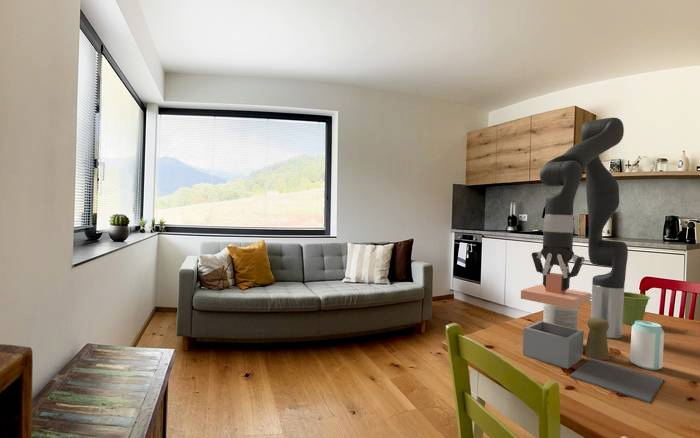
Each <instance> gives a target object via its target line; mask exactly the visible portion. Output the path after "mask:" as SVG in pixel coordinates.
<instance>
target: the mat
mask: <svg viewBox="0 0 700 438" xmlns="http://www.w3.org/2000/svg"><path fill="white" fill-rule="evenodd" d="M569 378H571V379H575V380H578V381H580V382H581V381H582V382H584V383H587V384H591V385H593V386H597V387H599V388H602V389H605V390H609V391H611V392H614V393H618V394H621V395H624V396H625V397H626V396H627V397H630V398H632V399H636V400H639V401H641V402H645V403H647V404H651V402H652V400H653V399H654V397H655V395H656V394H657V393H658V390H659V389H660V387H661V386H662V384H663V382H664V381H665V380H664V379H665V378H662V377H659V376H656V375H652V374H649V373H645V372H642V371H639V370H634V369H632V368H631V369H630V368H627V367H624V366H620V365H617V364H614V363H610V362H606V361H602V360H601V359H596V358H592V357H590V358H589V360H587V361H586V362H584V363H583V364H582V365H581V366H579V367H578V368H577V369H575V371H573V372H572V373H571V374H569Z"/></svg>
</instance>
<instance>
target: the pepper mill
mask: <svg viewBox="0 0 700 438" xmlns="http://www.w3.org/2000/svg"><path fill="white" fill-rule="evenodd" d="M587 326H588V328H589V330H588V335H587V340H586V345H585V350H584V355H586V356H587V357H589V358H593V359H596V360H600V361H602V360H604V361H605V360H610V355H609V346H608V345H609V344H608V338H607V334H606V331H607V330H608V328H609V324H608V322H607V321H606V320H603V319H600V318H591V317H590V318H589V319H588V321H587Z"/></svg>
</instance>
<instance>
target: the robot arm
mask: <svg viewBox="0 0 700 438" xmlns="http://www.w3.org/2000/svg"><path fill="white" fill-rule="evenodd" d="M624 133H625V127H624V124H623V121H622V120H621V119H620V118H618V117H606V118H600V119H599V118H598V119H592V120H588V121H585V122H584V123H583V124H582V125H581V129H580V142H578V143H576V144H574V145H572V146H571V147H570V148H569V149H568V150H566V151H565V152H564V154H561V155H559V156H557V157H554V158H552V159H551V160H549V161H547V162H545V164H544V165H543V166H542V167H541V169H540V171H539V179H540V182H541V183H542V184H543V185H545V186H548V187H562V188H561V190H560V191H559V192H557V193H554V194H553V193H552V194H550V195H547V197H546V198H545V209H544V210H545V211H544V212H545V213H544V214H545V215H544V220H543V226H542V230H543V232H542V233H543V234H542V235H543V237H542V249H541V250H540V251H535V252H532V253H531V257H532V261H533V265H534V267H535V270H536V272H537V273H540V274H542V285H543V286H545V288H546V274H549V273H551V271H552V268H553V267H554V266H558V267H559V268H560V271H561V274H562V275H563V278H562V291H567V289H569V290H570V279H571V278H575V277H577V276H579V272H580V271H581V269H582V266H583V264H584V262H585V260H586V259H585V257H584V256H579V255H577V254H575V253H574V251H573V247H574V246H573V245H574V244H573V243H574V228H575V227H574V224H575V223H574V202H575V198H576V194H577V192H578V188H579V187H580V186H579V185H580V183H581V181H582V178H583V170H584V169H585V170H584V171H585V186H586V187H585V189H586V193H585V195H586V204H587V215H588V241H587V242H588V243H587V244H588V247H587V249H588V250H587V251H588V259H589V262H590V263H591V264H592V265H594V266H601V267H607V268H608V267H610V268H611V271H609V272H606V273H603V274H598V275H594V276H593V277H592V281H591V283H592V285H591V301H590V302H591V306H590V318H600V319H603V320H606V321H607V322H608V324H609V328H608V330H607V331H606V334H607V339H622V338H623V337H622V336H623V325H624V324H623V305H624V292H625V283H626V276H627V275H626V274H627V266H628V264H627V262H628V257H629V249H628V245H627V244H626V243H625V242H624V241H619V240H609V239H608V240H607V239H603V231H604V229H605V226H606V225H607V223H608V222H609V220H610V219H611V218H612V217H613V215H614V214H615V213H616V211H617V209H618V208H619V206H620V188H619V187H620V186H619V183H618V181H617V180H616V178H615V177H614V175H613V174H612V173H611V172H610V171H609V170H608V168H606V166H605V165H604V163H602V161H601V158H600V155H602V154H603V153H605V152H607V151H609V150H610V149H612V148H614V147H615V146H617V145H618V144H620V143H621V142H622V139H623V138H624ZM542 258H543V259H544V260H545V262H544V266H543V263H542V260H541V259H542ZM572 259H573V267H572V268H571V271H570V265H569V263H570V262H571V260H572Z"/></svg>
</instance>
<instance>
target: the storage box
mask: <svg viewBox="0 0 700 438" xmlns="http://www.w3.org/2000/svg"><path fill="white" fill-rule="evenodd" d="M584 333H585V332H584V330H582V329H578V328H577V329H574V328H569V327H565V326H561V325H557V324H553V323H548V322H544V321H543V320H539V321H537V322H533V323H532V324H529V325H527V326H525V327H523V337H522V338H523V339H522V356H525V357H528V358H532V359H535V360H538V361H541V362H544V363H548V364H552V365H554V366H557V367H561V368H564V369H566V370H568V369H570V368H571V367H573V366H574V365H575V364H576V363H579V361H581V360H582V359H583V356H584V355H583V354H584V353H583V352H584V337H585V335H584Z"/></svg>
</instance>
